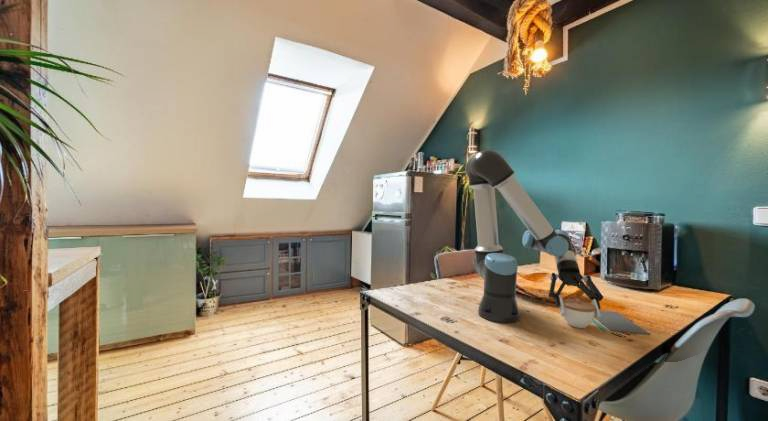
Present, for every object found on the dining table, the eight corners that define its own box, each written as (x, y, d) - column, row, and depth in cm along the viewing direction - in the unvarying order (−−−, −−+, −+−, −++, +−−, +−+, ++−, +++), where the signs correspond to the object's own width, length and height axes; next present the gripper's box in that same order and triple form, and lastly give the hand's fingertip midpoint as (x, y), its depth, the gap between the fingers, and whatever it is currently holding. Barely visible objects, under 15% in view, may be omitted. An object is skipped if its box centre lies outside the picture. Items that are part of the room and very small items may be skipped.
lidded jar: (592, 322, 121) (593, 297, 120) (596, 333, 111) (598, 306, 111) (559, 317, 126) (560, 293, 125) (560, 326, 116) (562, 301, 116)
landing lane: (603, 331, 113) (604, 330, 113) (576, 308, 137) (576, 307, 137) (651, 335, 110) (651, 334, 110) (615, 311, 134) (615, 311, 134)
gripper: (595, 271, 131) (612, 324, 116) (533, 267, 135) (543, 317, 120) (602, 260, 125) (621, 314, 111) (538, 257, 130) (548, 308, 115)
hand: (580, 316), depth 115 cm, fingers closed on lidded jar, 11 cm apart
